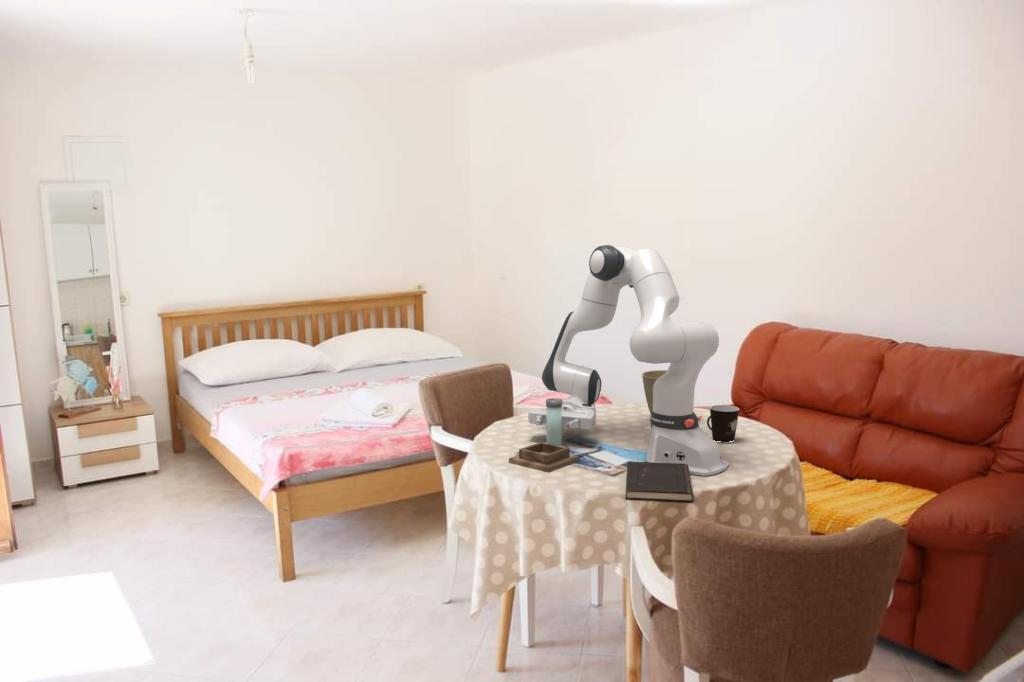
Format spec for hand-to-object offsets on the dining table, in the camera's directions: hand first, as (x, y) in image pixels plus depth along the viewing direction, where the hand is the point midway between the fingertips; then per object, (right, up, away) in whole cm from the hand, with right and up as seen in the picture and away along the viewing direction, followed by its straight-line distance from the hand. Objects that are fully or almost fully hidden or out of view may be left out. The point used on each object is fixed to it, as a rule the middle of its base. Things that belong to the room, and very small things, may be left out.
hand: (553, 424), depth 247 cm
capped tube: (0, -7, +2) cm, 8 cm away
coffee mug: (+51, -6, +10) cm, 52 cm away
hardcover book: (+25, -12, -32) cm, 43 cm away
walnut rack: (-3, -9, -11) cm, 15 cm away
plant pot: (+38, -3, +33) cm, 51 cm away
